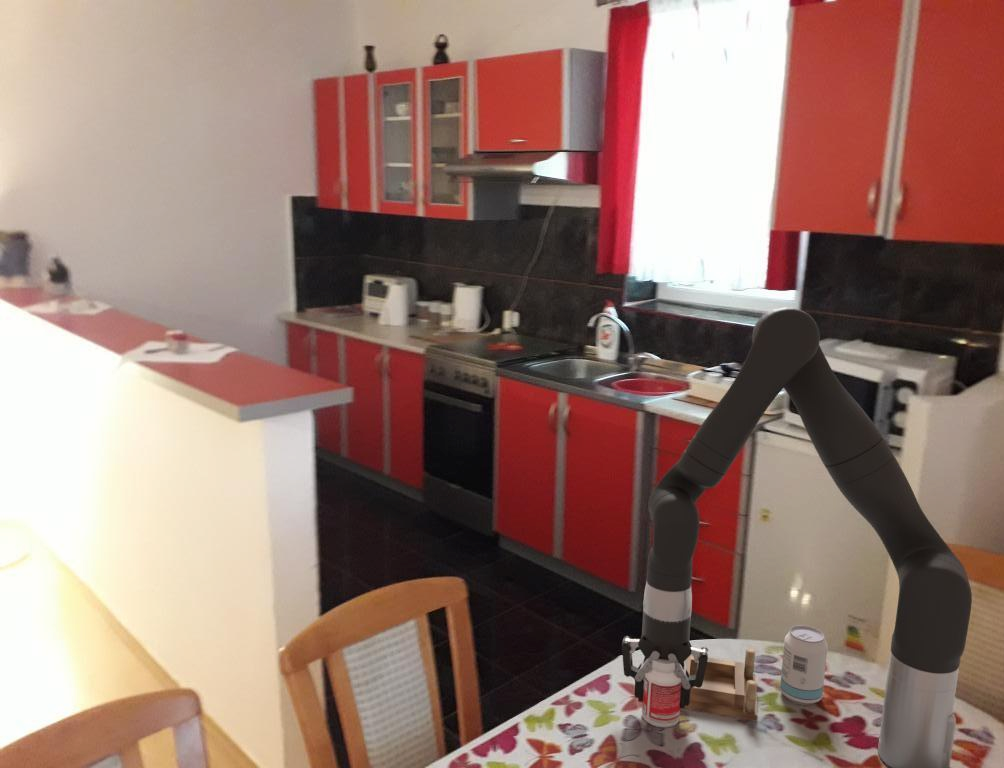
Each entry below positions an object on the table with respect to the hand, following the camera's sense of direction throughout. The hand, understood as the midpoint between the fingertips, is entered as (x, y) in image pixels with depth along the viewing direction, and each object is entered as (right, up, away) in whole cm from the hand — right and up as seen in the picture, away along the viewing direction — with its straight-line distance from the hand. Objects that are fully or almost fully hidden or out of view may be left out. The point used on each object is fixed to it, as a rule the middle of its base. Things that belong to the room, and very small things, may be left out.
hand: (661, 702), depth 136 cm
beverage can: (+25, -2, +7) cm, 26 cm away
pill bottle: (0, -3, 0) cm, 3 cm away
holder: (+10, -1, +8) cm, 13 cm away
